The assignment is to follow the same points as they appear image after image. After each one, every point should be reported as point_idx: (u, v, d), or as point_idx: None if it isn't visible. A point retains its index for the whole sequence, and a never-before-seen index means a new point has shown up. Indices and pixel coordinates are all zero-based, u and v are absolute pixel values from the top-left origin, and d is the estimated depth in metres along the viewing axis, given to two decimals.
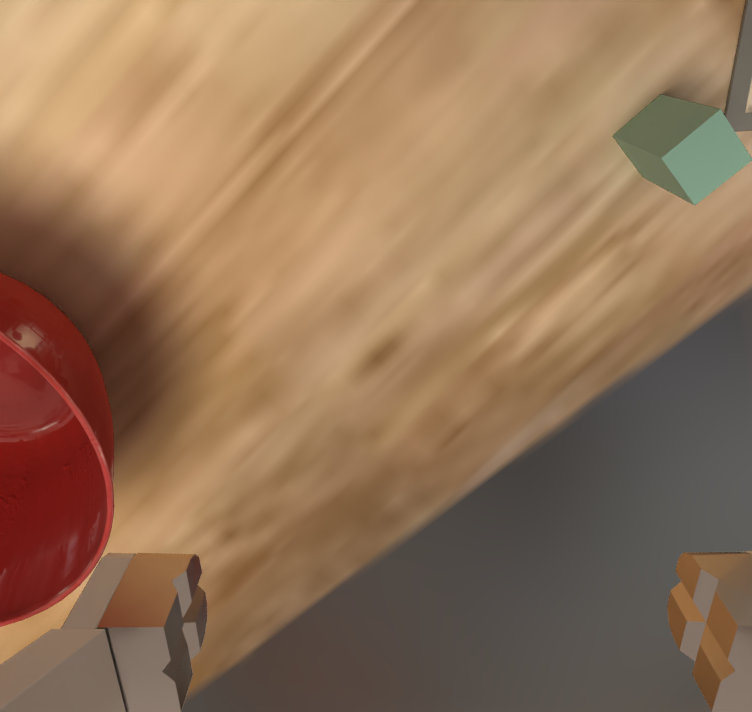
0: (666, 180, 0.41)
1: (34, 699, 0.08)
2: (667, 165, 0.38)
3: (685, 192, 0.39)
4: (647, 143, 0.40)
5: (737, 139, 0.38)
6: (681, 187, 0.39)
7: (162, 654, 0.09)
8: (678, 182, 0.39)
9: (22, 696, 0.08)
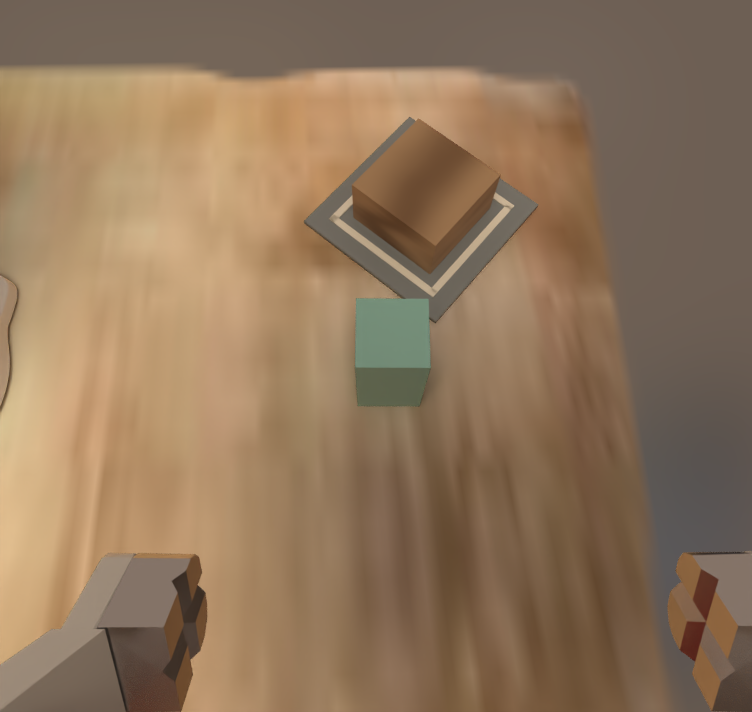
0: (401, 380, 0.36)
1: (34, 699, 0.08)
2: (367, 366, 0.33)
3: (410, 368, 0.33)
4: None
5: (397, 300, 0.35)
6: (402, 368, 0.33)
7: (162, 654, 0.09)
8: (394, 367, 0.33)
9: (22, 696, 0.08)
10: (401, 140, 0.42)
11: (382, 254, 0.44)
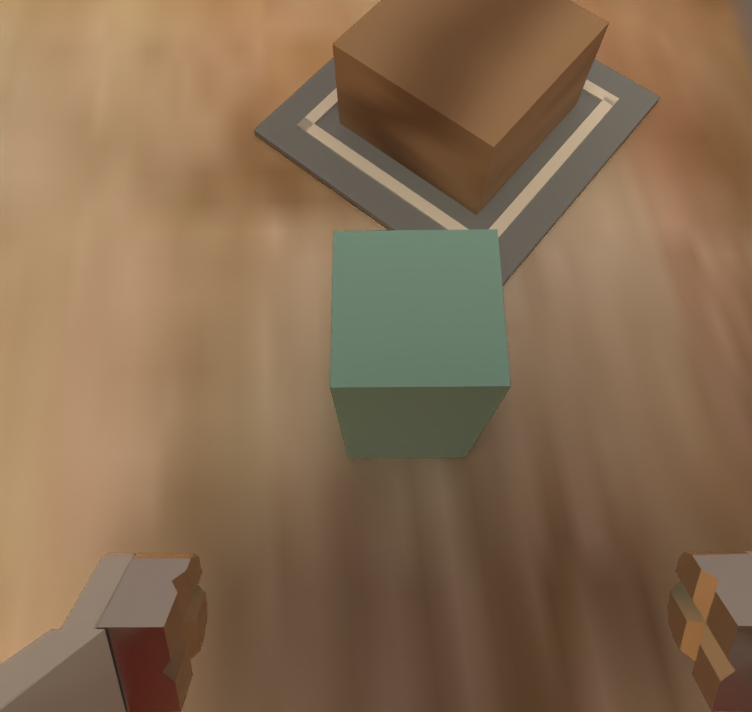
0: (437, 414, 0.16)
1: (34, 699, 0.08)
2: (358, 385, 0.14)
3: (461, 387, 0.14)
4: None
5: (426, 233, 0.15)
6: (442, 388, 0.14)
7: (162, 654, 0.09)
8: (423, 387, 0.14)
9: (22, 695, 0.08)
10: None
11: (391, 182, 0.25)
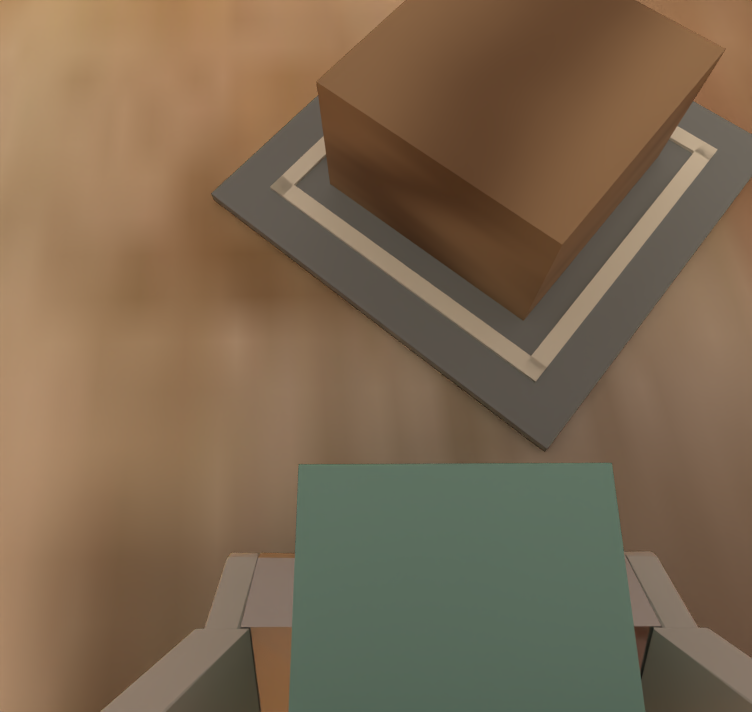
0: None
1: (193, 699, 0.08)
2: None
3: None
4: None
5: (475, 471, 0.08)
6: None
7: None
8: None
9: (185, 695, 0.08)
10: None
11: (401, 271, 0.18)
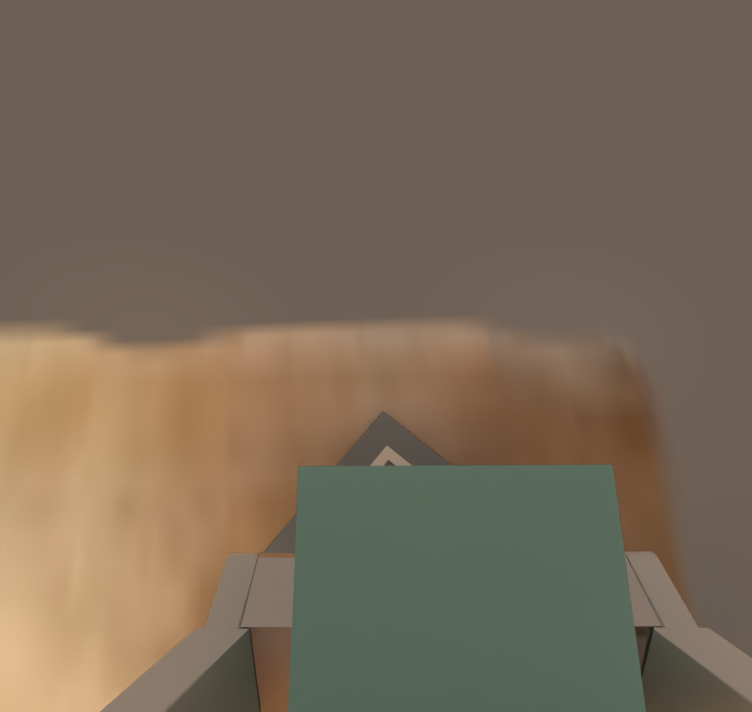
0: None
1: (193, 699, 0.08)
2: None
3: None
4: None
5: (475, 473, 0.08)
6: None
7: None
8: None
9: (184, 696, 0.08)
10: None
11: None
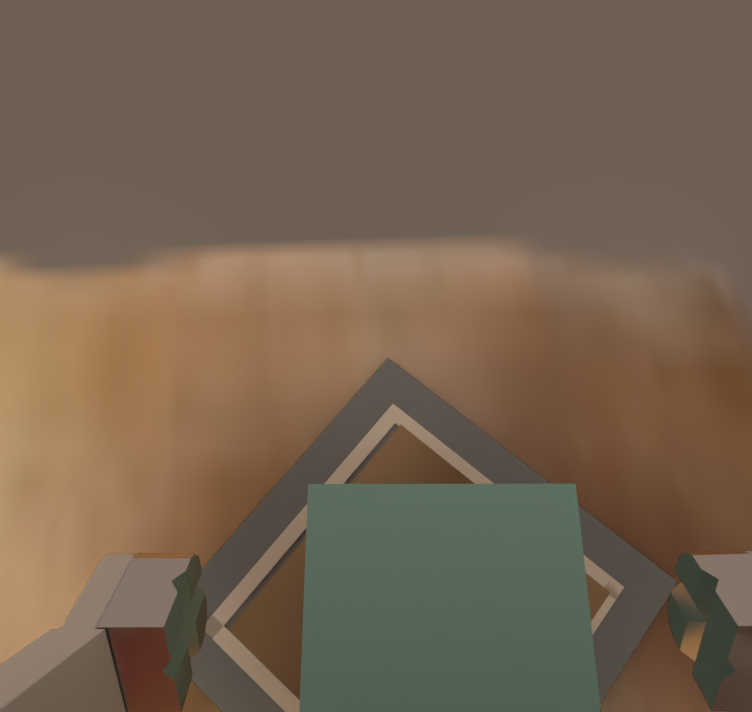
0: None
1: (34, 699, 0.08)
2: None
3: None
4: None
5: (459, 490, 0.09)
6: None
7: (162, 654, 0.09)
8: None
9: (22, 696, 0.08)
10: None
11: None
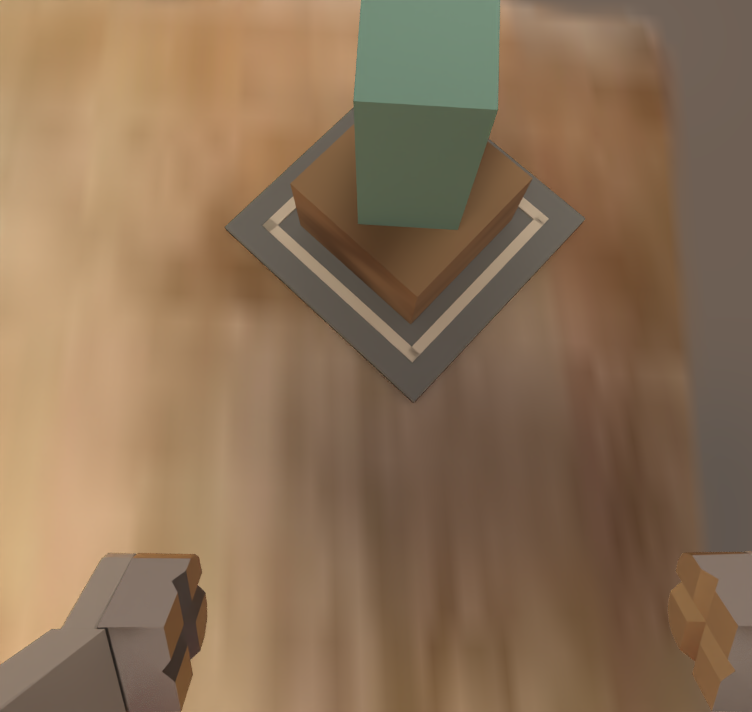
0: (437, 152, 0.20)
1: (34, 699, 0.08)
2: (376, 101, 0.17)
3: (458, 109, 0.17)
4: None
5: None
6: (443, 109, 0.18)
7: (162, 654, 0.09)
8: (427, 107, 0.17)
9: (22, 696, 0.08)
10: None
11: (340, 288, 0.29)
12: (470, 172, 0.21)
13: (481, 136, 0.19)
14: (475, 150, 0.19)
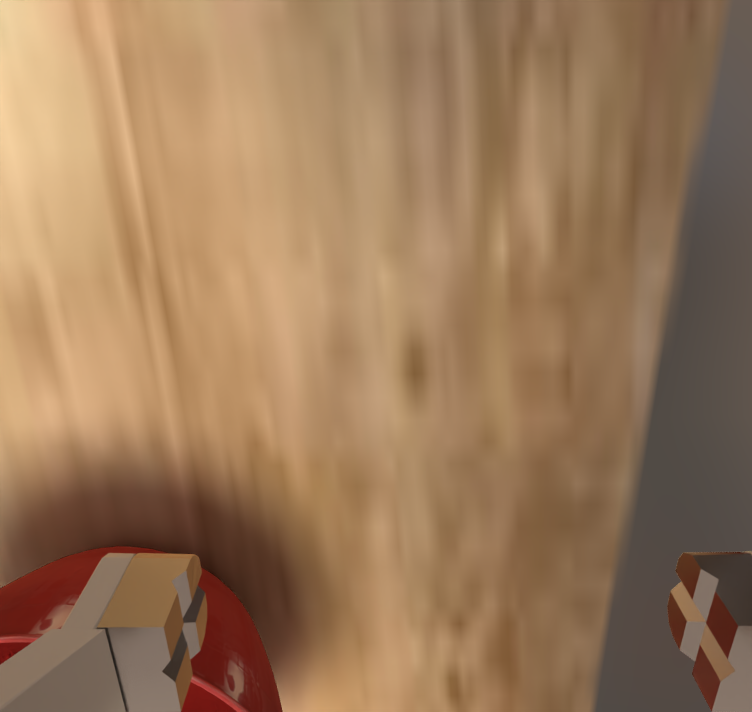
0: None
1: (34, 699, 0.08)
2: None
3: None
4: None
5: None
6: None
7: (162, 654, 0.09)
8: None
9: (22, 696, 0.08)
10: None
11: None
12: None
13: None
14: None
